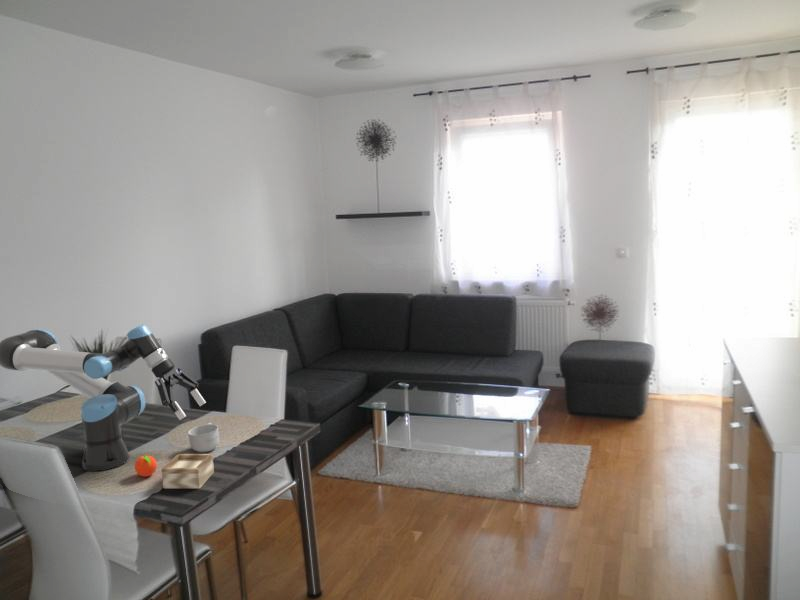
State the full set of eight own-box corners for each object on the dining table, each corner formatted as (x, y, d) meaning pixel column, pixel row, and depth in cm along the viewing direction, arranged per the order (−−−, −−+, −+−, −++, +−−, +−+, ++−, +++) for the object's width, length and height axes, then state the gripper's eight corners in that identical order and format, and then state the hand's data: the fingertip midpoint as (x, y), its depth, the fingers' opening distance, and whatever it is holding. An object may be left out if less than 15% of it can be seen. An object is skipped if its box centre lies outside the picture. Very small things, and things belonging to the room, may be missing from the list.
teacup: (211, 455, 226) (209, 434, 225) (184, 454, 228) (181, 433, 227) (229, 441, 240) (227, 421, 238) (203, 440, 242) (201, 420, 240)
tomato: (162, 476, 211) (160, 456, 210) (142, 483, 206) (139, 462, 205) (152, 469, 217) (150, 449, 215) (132, 476, 212) (130, 456, 211)
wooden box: (163, 488, 202) (161, 469, 201) (180, 472, 213) (178, 454, 212) (199, 488, 200) (197, 469, 199) (214, 472, 212) (212, 453, 211)
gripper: (146, 368, 216) (181, 419, 217) (185, 348, 240) (217, 394, 241) (131, 379, 218) (166, 429, 219) (172, 358, 242) (203, 403, 243)
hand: (193, 411), depth 230 cm, fingers open, 13 cm apart
